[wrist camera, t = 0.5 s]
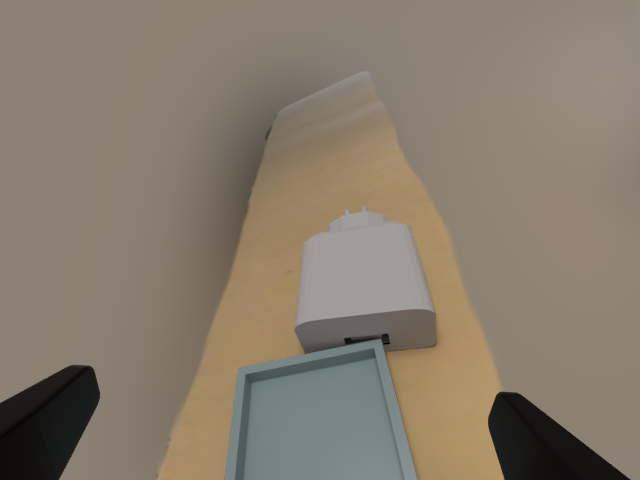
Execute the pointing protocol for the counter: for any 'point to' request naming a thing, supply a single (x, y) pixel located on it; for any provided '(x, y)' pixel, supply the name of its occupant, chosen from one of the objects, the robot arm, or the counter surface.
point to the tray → (319, 419)
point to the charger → (363, 287)
